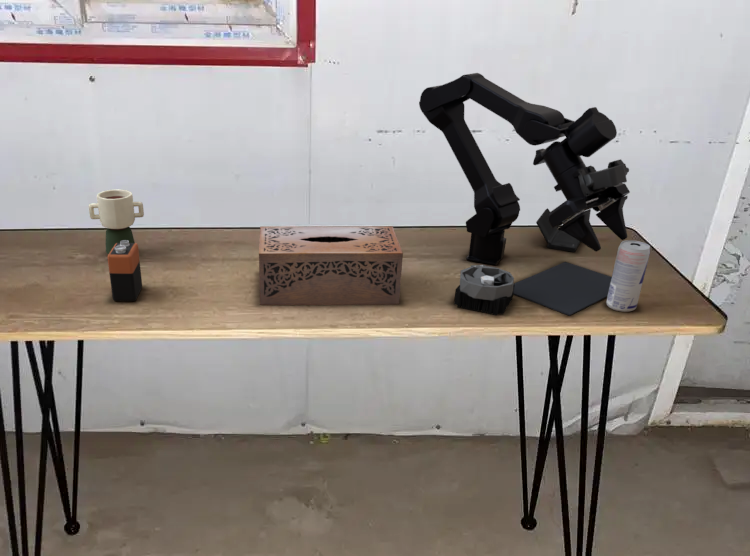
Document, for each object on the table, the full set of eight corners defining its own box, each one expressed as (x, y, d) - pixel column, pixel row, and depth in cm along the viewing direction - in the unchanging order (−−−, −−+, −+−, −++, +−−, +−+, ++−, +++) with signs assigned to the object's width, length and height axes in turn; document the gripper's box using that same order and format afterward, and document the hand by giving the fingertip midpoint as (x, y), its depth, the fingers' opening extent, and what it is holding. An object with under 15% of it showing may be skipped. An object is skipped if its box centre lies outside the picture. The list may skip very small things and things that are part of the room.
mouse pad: (501, 290, 150) (501, 288, 149) (565, 263, 162) (565, 261, 162) (569, 315, 140) (569, 314, 140) (631, 284, 153) (631, 283, 152)
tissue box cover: (389, 274, 156) (392, 226, 151) (399, 304, 143) (402, 253, 138) (261, 274, 155) (260, 226, 150) (259, 304, 142) (258, 253, 137)
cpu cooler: (507, 290, 136) (451, 279, 140) (503, 319, 139) (448, 308, 143) (521, 270, 144) (468, 260, 148) (516, 298, 147) (464, 288, 151)
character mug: (147, 247, 167) (142, 188, 161) (147, 259, 161) (141, 198, 155) (96, 249, 166) (88, 190, 159) (93, 262, 160) (85, 200, 153)
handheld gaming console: (586, 245, 166) (563, 205, 165) (555, 262, 169) (532, 223, 168) (585, 235, 176) (563, 198, 175) (556, 252, 180) (534, 215, 178)
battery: (112, 302, 143) (105, 250, 138) (120, 287, 149) (114, 237, 144) (135, 302, 143) (130, 251, 138) (143, 287, 149) (137, 237, 144)
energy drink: (637, 303, 145) (652, 242, 139) (634, 314, 141) (650, 252, 135) (607, 298, 147) (621, 238, 141) (604, 309, 143) (617, 247, 137)
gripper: (574, 154, 131) (621, 233, 129) (630, 138, 142) (674, 211, 140) (528, 190, 140) (571, 264, 138) (584, 172, 151) (624, 241, 149)
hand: (612, 244), depth 141 cm, fingers open, 9 cm apart
